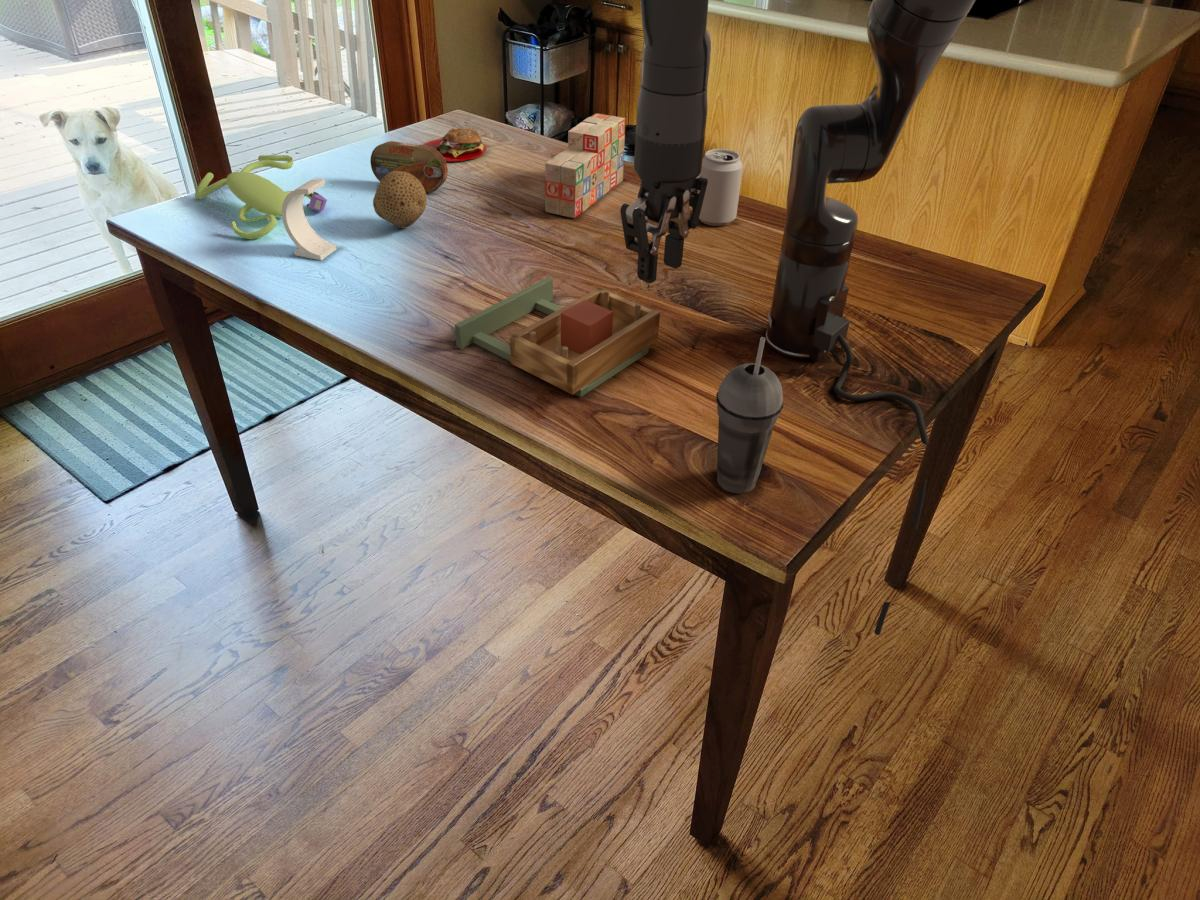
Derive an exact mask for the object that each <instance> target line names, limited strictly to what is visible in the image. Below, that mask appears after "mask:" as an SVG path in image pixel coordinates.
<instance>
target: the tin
mask: <svg viewBox="0 0 1200 900" xmlns="http://www.w3.org/2000/svg"><path fill="white" fill-rule="evenodd" d="M369 161H370V169H371V171H372V173H373V175H374V177H375V178H376V179H377V180H378V181H379V182H380V181H381V180H382V179H383V177H384V176H386V175H387V174H388V173H390V172H393V171H403V172H408V173H410V174H412V175H413V176H415V177H416V178H417V179H418V180H419V181H420V182H421V184H422V186H423V187H424V189H425V192H426V194H429V193H430V194H431V193H433V192H436V191H438V189H440V188H441V187H442V186H443V185H444V184H445V182H446V181H447V178H448V172H449V171H448V170H449V169H448V164H447V161H445V159H444V157H443V155H442V154H441V153H440V152H439V151H438V150H437V149H435V148H433V147H431V146H427V145H423V144H418V143H409V142H402V141H393V140H391V141H385V142H383V143H380V144H378V145H376V146H375V147H374V148H373V150H372V151H371V154H370V160H369Z"/></svg>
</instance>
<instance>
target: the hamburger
mask: <svg viewBox="0 0 1200 900" xmlns="http://www.w3.org/2000/svg"><path fill="white" fill-rule="evenodd" d="M422 145H427V146H431V147H433V148H435V149H437V150H438V151H439V152H440V153H441V154H442V155H443V157H444V159H445V161H446V162H461V161H467V160H468V161H469V160H473V159H477V158H478V157H481V156H482V155H484V154H485V153H486V152H487V146H486V145H485V144H484V142H482V137H481V136H480V134H479V133H478V131H476V130H473V129H471V128H466V127H465V128H464V127H463V128H462V127H461V128H454V127H453V128H451V129H449V130H448V131H447V132H446V133H445V134H444V136H442V137H440V138H437V139H432V140H429V141H426V142H425V143H423V144H422Z"/></svg>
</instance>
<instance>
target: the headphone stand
mask: <svg viewBox="0 0 1200 900" xmlns="http://www.w3.org/2000/svg"><path fill="white" fill-rule="evenodd" d="M325 185H326V181H325V178H313V179H311V180H308V181H307V182H305V183H304V184H302V185H300V186H299V187H297V188H295V189H294V190H291V191H292V192H290V193H289V194H288V195H287V196H286V197H285V199H284V201H283V204H282V216H281V220H282V223H283V227H284V229H285V231H286V233H287V235H288V237H289V238H290V240H291V241H292V242H293V243H294V245H295V246H296V247H297V248H295V249H294V255H295V256H297V257H302V258H307V259H312V260H317V261H322V260H324V259H325V258H327V257H328V256H329V255H331V254H332V253H334V252H335V251H336V250H338V249H337V244H336V243H333V242H330V241H327V240H326V239H324V238H322V237H321V236H320V235H319V234H318V233H317V232H316V231H315V230H314V229H313V227H312V225H310V223H309V221H308V220H307V217H306V215H305V211H304V197H305V196H304V195H305V194H310V193H313V192H316V191H317V190H318V189H320V188H321V187H323V186H325Z"/></svg>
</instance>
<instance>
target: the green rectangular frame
mask: <svg viewBox="0 0 1200 900" xmlns="http://www.w3.org/2000/svg"><path fill="white" fill-rule="evenodd" d="M552 301H554V280H553V278H552V277H550V276H547V277H545V278H543V279H542V280H538V281H537V282H535V283H533V284H531V285H530V286H527V287H526V288H523V289H522V290H520V291H518V292H516V293H513V294H512V295H510V296H508V297H506V298H504V299H503V300H502V299H501V300H500V301H498V302H496V303H495V304H493V305H490V306H489V307H486V308H485V309H483V310H481V311H479V312H477V313H474V314H473V315H471V316H469V317H467V318H465V319H463V320H460V321H459V322H457V323H455V324H454V333H455V335H454V336H455V344H456V345H455V346H456V348H457V349H460V350H463V349H464V348H467V347H468V346H471V345H473V344H475V345H477V346H479V347H480V348H482V349H484V350H486V351H488V352H490V353H492V354H494V355H496V356H498V357H500V358H502V359H503V360H506V361H509V362H510V363H511V354H510V344H509V345H508V344H507V343H505V342H503V341H501V340H498V339H496V338H494V337H492V336H490V335H491V334H493V333H494V332H496V331H498V330H500V329H502V328H504V327H506V326H508V325H510V324H511V323H513V322H515V321H517V320H519V319H521V318H522V317H524V316H526V315H528V314H530V313H532V312H533V311H535V310H536V311H539V312H541V313H543V314H545V315H547V316H548V315H550V314H552V313H554V312H556V311H557V310H559V309H561V308H563V307H564V306H560V305H559V304H555V303H554V302H552ZM648 353H649V345H648V346H646V347H645V348H643V349H642V350H640V351H639V352H637V353H636V354H634V355H633V356H631V357H630V358H628V359H627V360H625V361H623V362H622V363H620V364H619V365H617V366H616V367H614V368H613V369H611V370H610V371H608V372H607V373H605V374H604V375H602V376H600V377H599V378H597V379H596V380H594V381H593V382H591V383H590V384H588V385H587V386H585V387H584V388H582V389H580V390H579V391H577V392H576V393H574V394H573V395H575V396H577V397H580V398H582V397H584V396H585V395H587V394H588V393H589V392H591V391H592V390H594V389H596V388H597V387H598V386H600V385H602V384H603V383H605V382H606V381H608V380H609V379H610V378H612V377H614V376H615V375H617V374H618V373H620V372H621V371H623V370H624V369H626V368H627V367H629V366H630V365H632V364H633V363H635V362H637V361H638V360H639V359H641V358H642V357H644V356H645V355H648Z"/></svg>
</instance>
